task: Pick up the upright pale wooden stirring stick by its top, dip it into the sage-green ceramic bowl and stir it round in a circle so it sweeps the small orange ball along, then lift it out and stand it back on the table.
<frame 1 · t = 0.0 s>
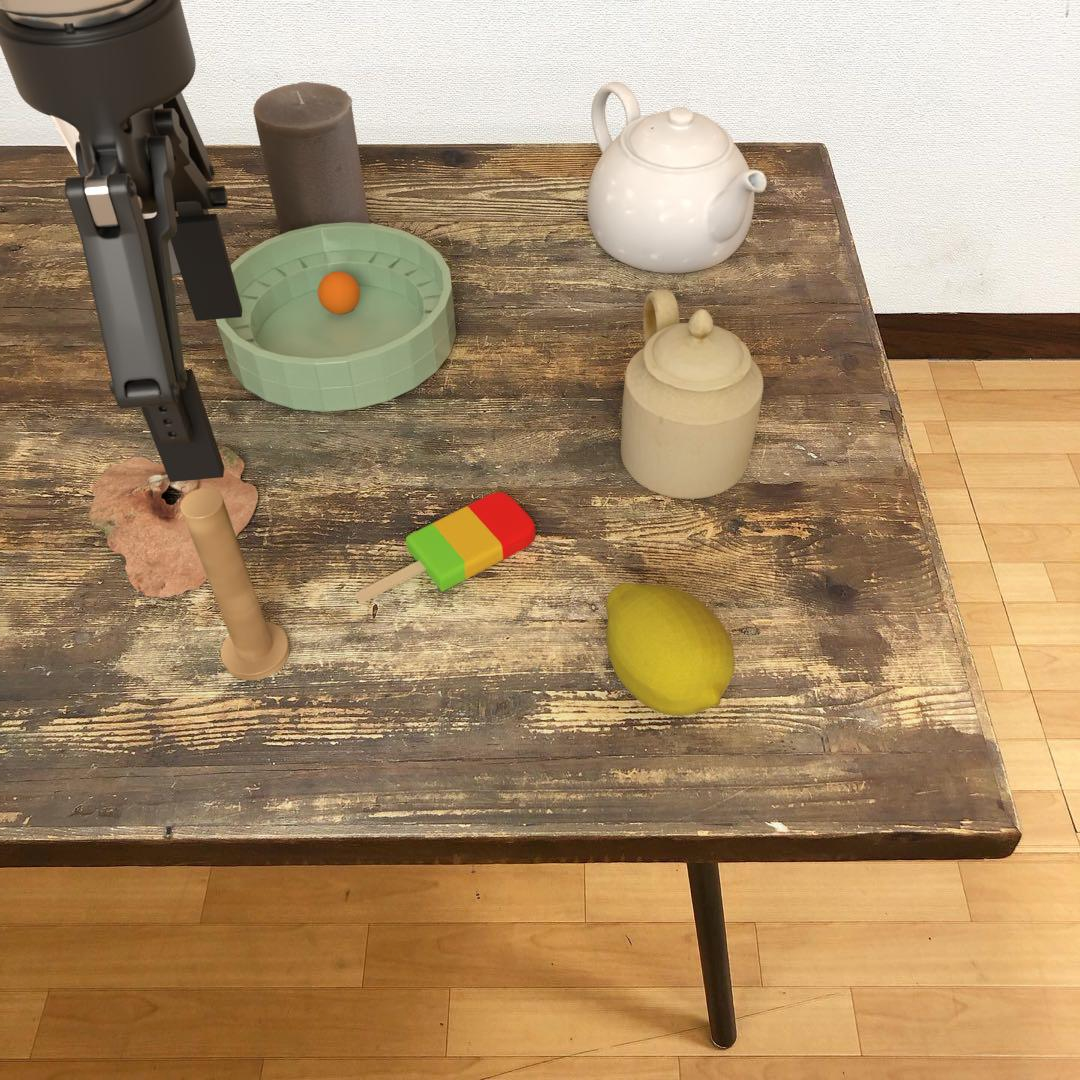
hand: (209, 389, 60), 25 cm above the table, tool pointing down, fingers open, 13 cm apart
clay slab: (181, 514, 88), on the table
stick: (256, 653, 78), on the table
sugar bowl: (668, 444, 92), on the table
bowl: (342, 340, 102), on the table
popsicle: (443, 563, 84), on the table
pillar candle: (325, 228, 115), on the table
lemon: (664, 682, 76), on the table
teapot: (665, 233, 114), on the table
ball: (339, 292, 103), point 3 cm above the table, touching bowl
cup: (153, 251, 113), on the table
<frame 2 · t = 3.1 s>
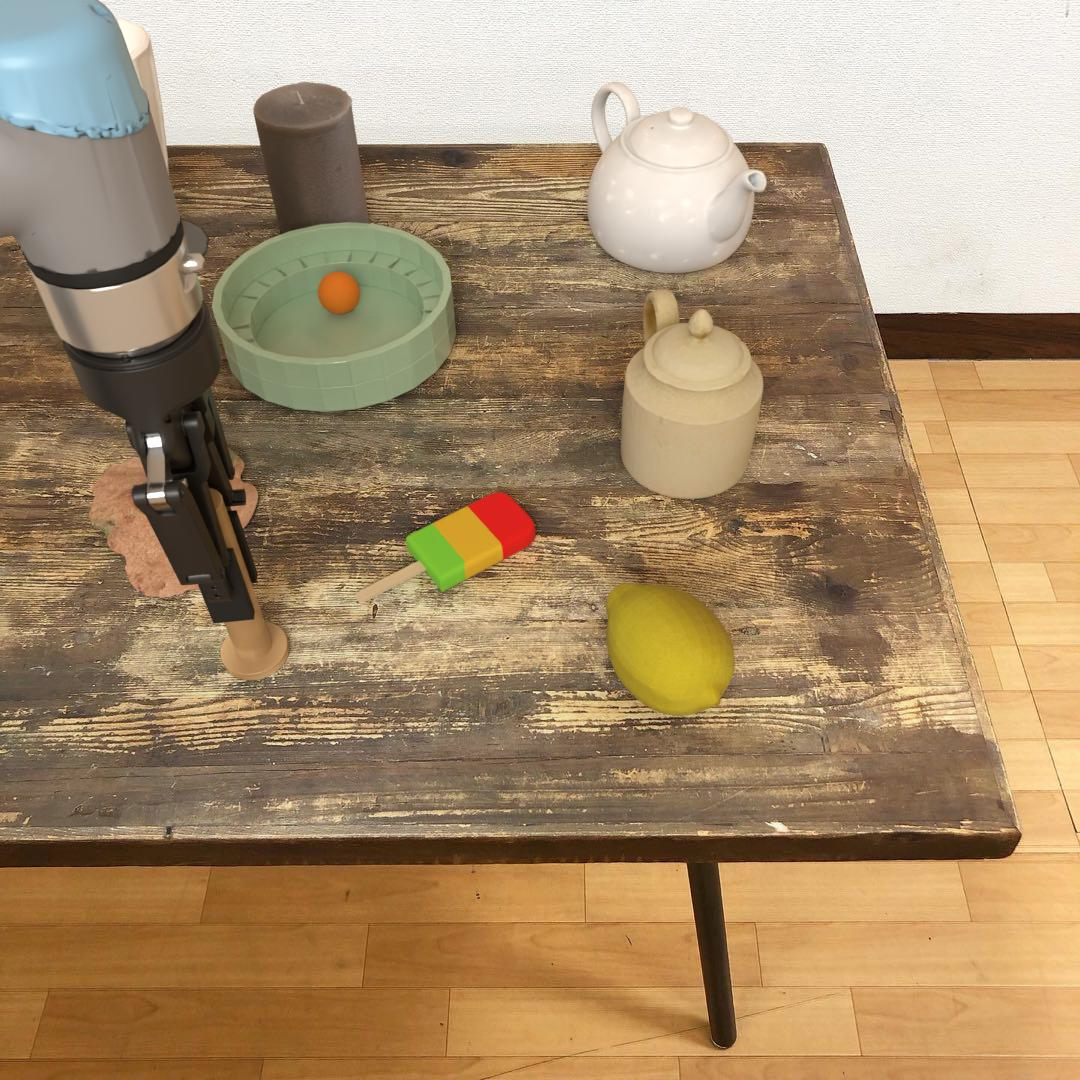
hand: (235, 597, 73), 7 cm above the table, tool pointing down, fingers closed on stick, 3 cm apart
stick: (256, 653, 78), on the table, touching gripper
everything else where it was.
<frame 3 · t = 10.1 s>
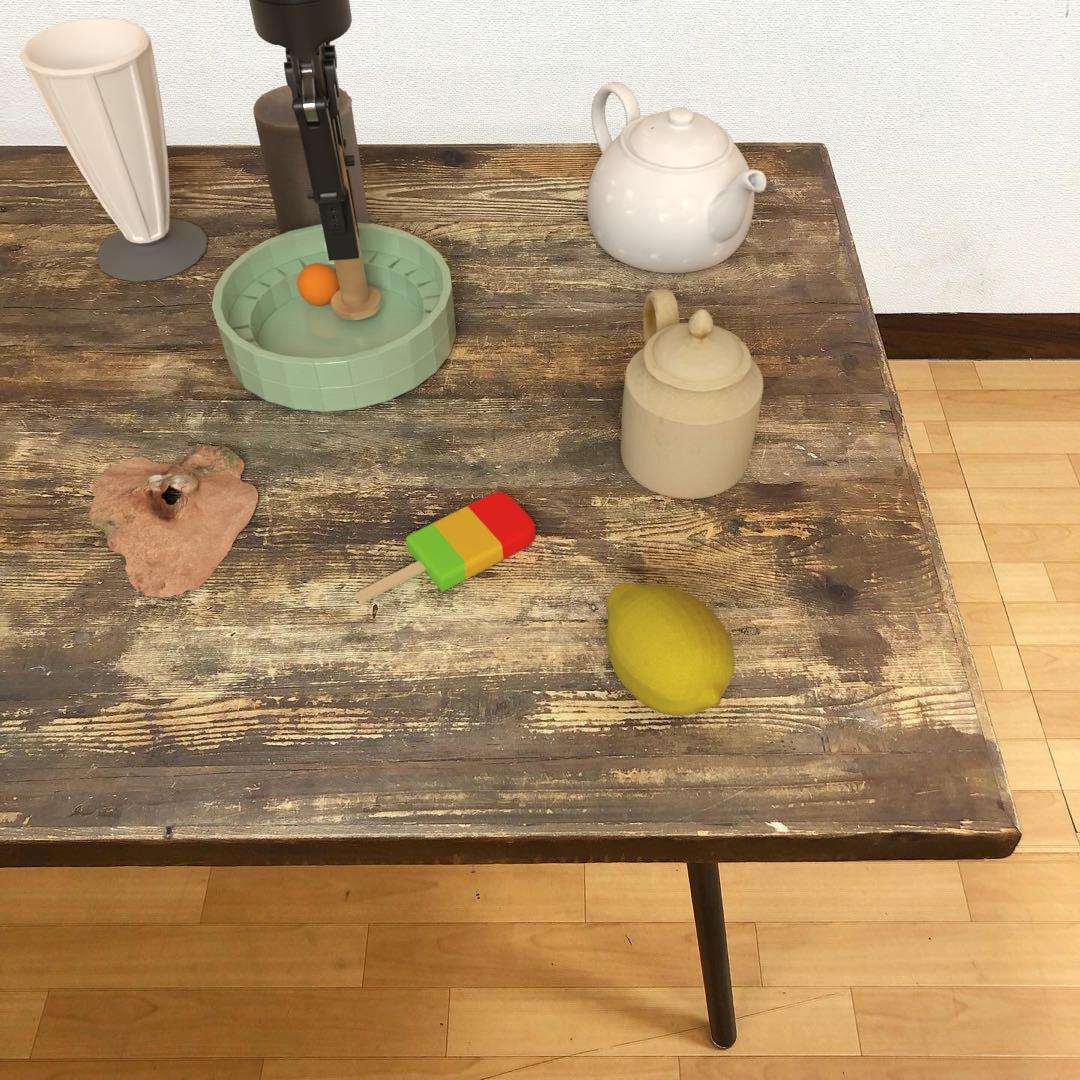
hand: (344, 246, 98), 8 cm above the table, tool pointing down, fingers closed on stick, 3 cm apart
stick: (357, 305, 103), point 2 cm above the table, touching ball, gripper
ball: (318, 284, 104), point 3 cm above the table, tilted 69°, touching bowl, stick
everything else where it was.
when the fingers open (7 cm above the table, at t = 18.9 s): stick stays where it is, on the table.
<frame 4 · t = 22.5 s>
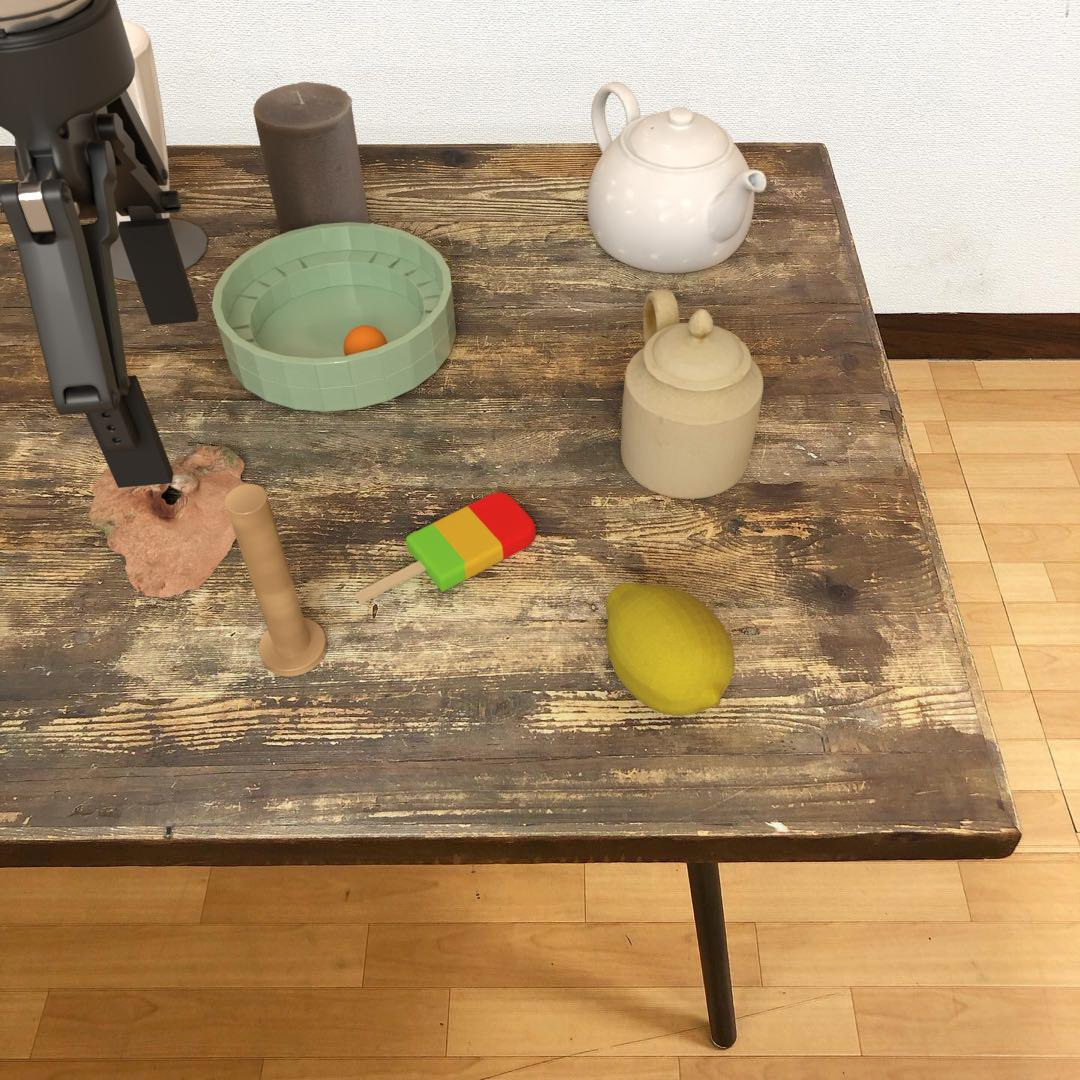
hand: (162, 394, 59), 25 cm above the table, tool pointing down, fingers open, 13 cm apart
stick: (294, 649, 78), on the table
ball: (365, 347, 97), point 3 cm above the table, tilted 99°, touching bowl
everything else where it was.
at the end: ball moved 9.1 cm from its start; ball inside the target area in the bowl (5.4 cm from its centre), point 2.6 cm above the bowl's base; the gripper is holding nothing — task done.
